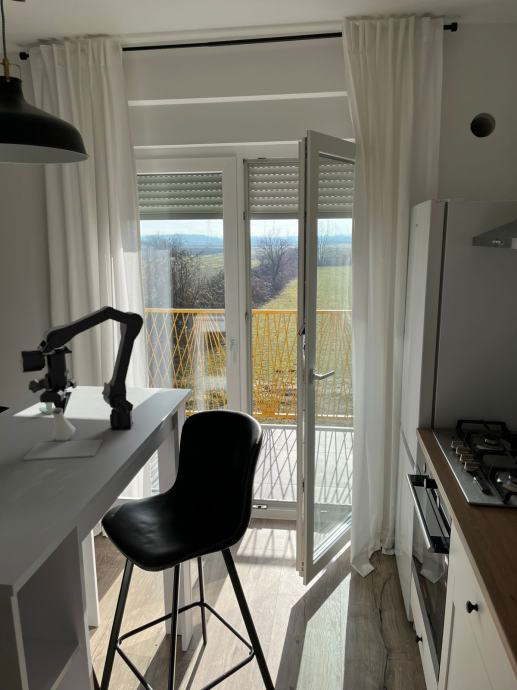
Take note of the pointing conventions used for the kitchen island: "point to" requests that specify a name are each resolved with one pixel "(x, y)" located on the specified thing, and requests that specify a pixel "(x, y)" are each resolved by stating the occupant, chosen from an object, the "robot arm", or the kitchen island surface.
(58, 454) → the mat
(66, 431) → the flask
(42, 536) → the kitchen island surface
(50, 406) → the pacifier
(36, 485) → the kitchen island surface
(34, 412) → the kitchen island surface
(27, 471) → the kitchen island surface
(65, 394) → the robot arm
